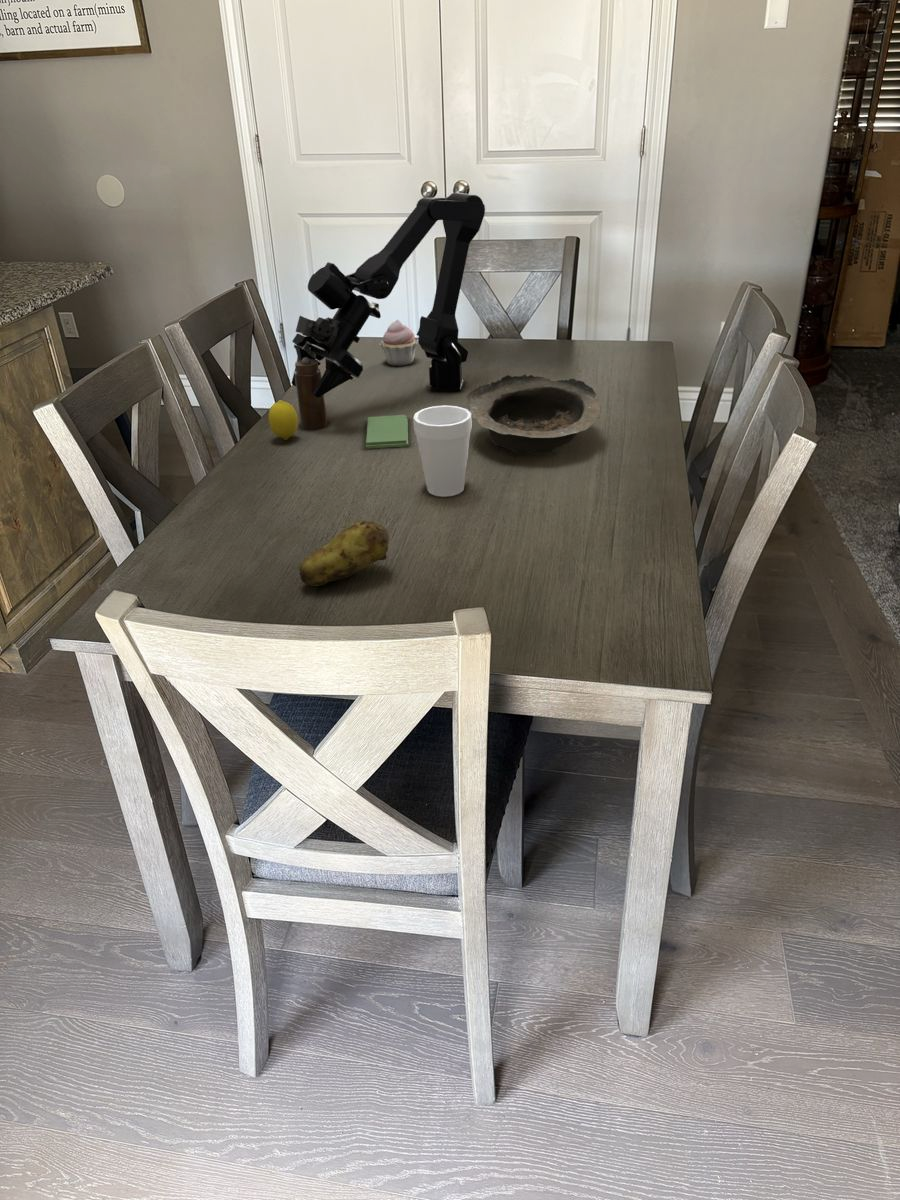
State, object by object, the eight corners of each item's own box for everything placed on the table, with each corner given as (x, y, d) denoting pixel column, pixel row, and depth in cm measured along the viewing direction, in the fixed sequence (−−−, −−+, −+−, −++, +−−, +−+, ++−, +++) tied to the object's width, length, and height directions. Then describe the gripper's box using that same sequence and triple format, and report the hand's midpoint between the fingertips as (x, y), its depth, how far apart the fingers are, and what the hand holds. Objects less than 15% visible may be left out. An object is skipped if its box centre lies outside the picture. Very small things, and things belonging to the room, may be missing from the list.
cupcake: (425, 357, 211) (422, 315, 206) (412, 369, 204) (409, 326, 198) (389, 355, 214) (386, 314, 208) (375, 366, 206) (371, 324, 201)
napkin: (407, 419, 176) (407, 414, 175) (408, 446, 164) (407, 440, 163) (368, 422, 176) (367, 416, 175) (366, 448, 164) (365, 442, 163)
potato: (303, 566, 127) (296, 517, 123) (391, 559, 128) (387, 510, 123) (300, 595, 120) (292, 545, 116) (393, 588, 121) (388, 538, 116)
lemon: (303, 434, 171) (297, 395, 167) (296, 445, 167) (290, 405, 162) (276, 434, 172) (270, 395, 168) (268, 445, 167) (262, 405, 163)
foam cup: (480, 480, 150) (478, 408, 143) (463, 503, 142) (461, 428, 135) (429, 474, 153) (425, 403, 146) (410, 497, 145) (404, 423, 138)
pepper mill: (330, 420, 177) (322, 353, 170) (323, 429, 173) (314, 361, 166) (305, 420, 178) (296, 353, 171) (298, 429, 174) (288, 361, 166)
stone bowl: (525, 405, 179) (529, 362, 174) (624, 444, 164) (631, 398, 159) (440, 439, 164) (440, 392, 159) (540, 484, 150) (544, 435, 145)
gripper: (294, 290, 171) (252, 357, 172) (343, 307, 158) (297, 379, 159) (333, 323, 179) (293, 387, 180) (382, 342, 166) (338, 411, 167)
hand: (304, 390), depth 171 cm, fingers open, 9 cm apart
